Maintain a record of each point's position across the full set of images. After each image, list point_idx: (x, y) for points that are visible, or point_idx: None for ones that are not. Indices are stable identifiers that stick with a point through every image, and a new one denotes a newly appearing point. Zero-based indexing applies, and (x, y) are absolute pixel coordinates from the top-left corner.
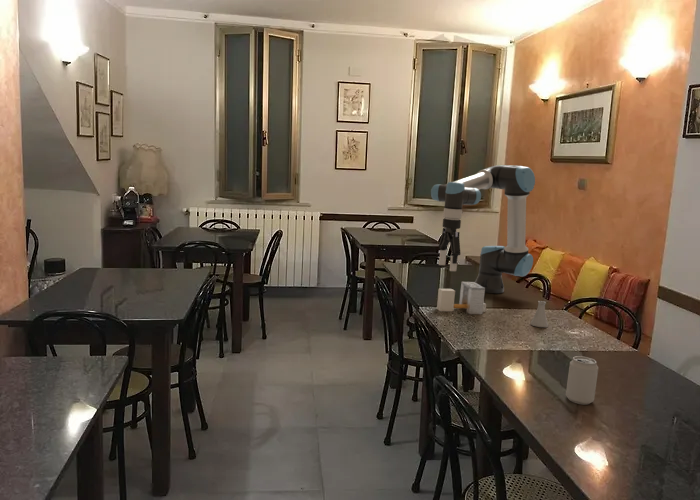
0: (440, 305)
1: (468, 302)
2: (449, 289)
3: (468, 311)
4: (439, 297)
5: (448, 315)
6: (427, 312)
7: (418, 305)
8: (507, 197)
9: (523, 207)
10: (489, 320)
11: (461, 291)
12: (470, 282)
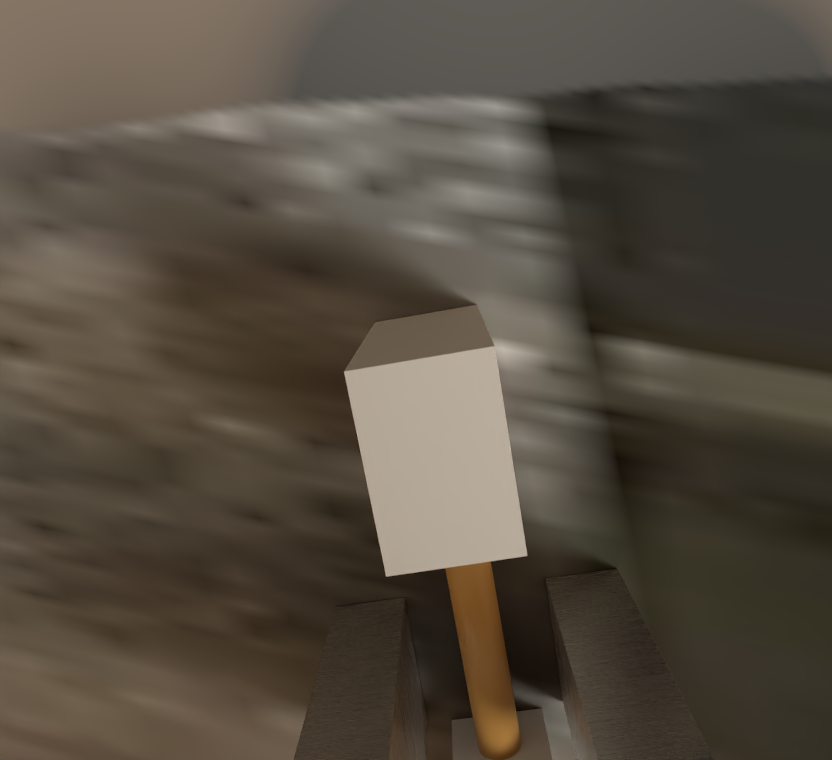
0: (369, 332)
1: (369, 667)
2: (472, 511)
3: (355, 614)
4: (424, 336)
5: (211, 383)
6: (271, 162)
7: (587, 94)
8: None
9: None
10: (148, 734)
11: (637, 685)
12: None
